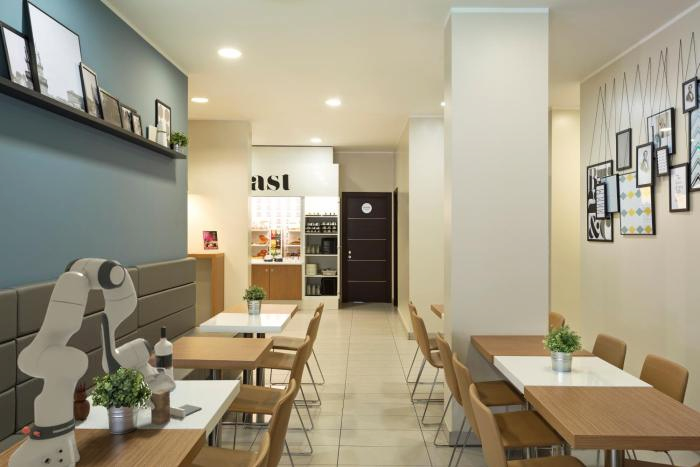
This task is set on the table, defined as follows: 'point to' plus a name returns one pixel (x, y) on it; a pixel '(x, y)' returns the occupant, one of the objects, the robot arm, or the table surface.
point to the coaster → (190, 409)
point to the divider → (177, 411)
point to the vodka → (164, 353)
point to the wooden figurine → (81, 403)
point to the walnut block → (161, 406)
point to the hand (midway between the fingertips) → (161, 405)
